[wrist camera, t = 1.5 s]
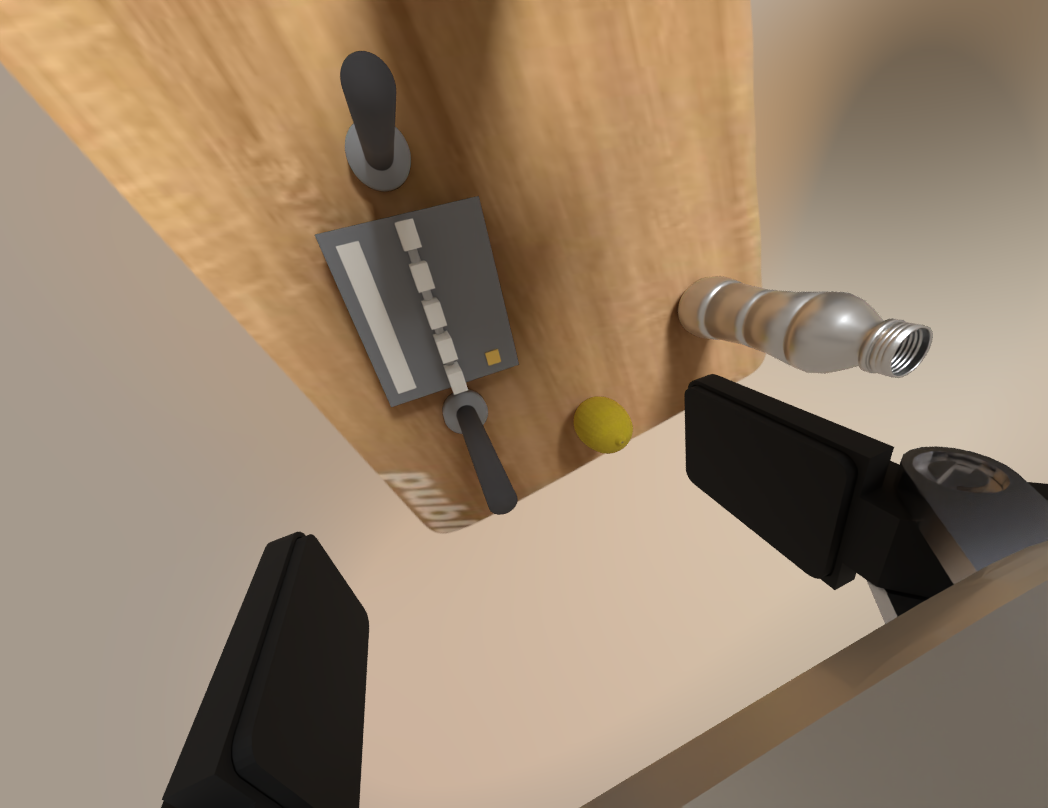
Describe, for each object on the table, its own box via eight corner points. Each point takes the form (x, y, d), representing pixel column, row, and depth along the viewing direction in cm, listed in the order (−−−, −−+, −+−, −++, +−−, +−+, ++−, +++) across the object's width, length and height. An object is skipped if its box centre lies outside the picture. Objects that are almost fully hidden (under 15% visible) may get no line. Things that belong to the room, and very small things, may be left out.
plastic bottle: (716, 326, 44) (929, 384, 26) (667, 338, 42) (859, 408, 25) (722, 268, 41) (966, 293, 24) (670, 279, 39) (890, 313, 22)
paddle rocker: (394, 222, 27) (394, 221, 24) (410, 218, 27) (412, 216, 24) (449, 384, 33) (454, 395, 30) (462, 380, 33) (468, 391, 31)
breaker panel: (321, 234, 28) (314, 234, 25) (471, 199, 30) (479, 195, 28) (391, 394, 35) (391, 408, 32) (510, 355, 37) (519, 365, 34)
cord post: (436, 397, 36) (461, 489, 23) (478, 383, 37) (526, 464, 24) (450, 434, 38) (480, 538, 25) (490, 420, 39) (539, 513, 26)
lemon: (567, 437, 43) (601, 475, 36) (558, 397, 41) (592, 429, 34) (609, 419, 44) (649, 453, 37) (602, 379, 42) (644, 407, 35)
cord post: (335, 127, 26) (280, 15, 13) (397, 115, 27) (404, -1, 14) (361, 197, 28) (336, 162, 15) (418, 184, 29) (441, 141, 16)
